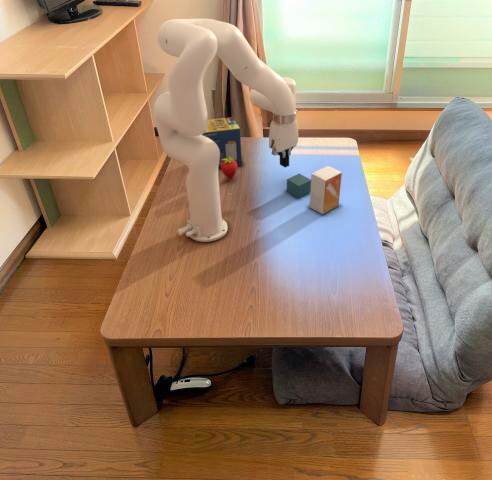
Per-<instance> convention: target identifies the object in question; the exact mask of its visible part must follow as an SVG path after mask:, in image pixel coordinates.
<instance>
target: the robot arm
mask: <svg viewBox="0 0 492 480" xmlns="http://www.w3.org/2000/svg"><path fill="white" fill-rule="evenodd" d="M157 42H158V45H159V47H160V48H161V50H162V51H163V52H164V53H166V54H168V55H169V56H171V57H175V58H177V60H176V61H175V63H174V64H173V66H172V68H171V69H170V71H169V74H168V80H167V81H168V82H167V84H168V85H167V86H168V91H165V92H162V93H161V94H159V95H158V97H157V98H156V100H155V103H154V106H153V117H154V123H155V127H156V130H157V133H158V138H159V141H160V145H161V147H162V151H163V152H164V154H165V155H166V156H167V157H168V158H170V159H172V160H174V161H176V162H178V163H180V164H182V165H183V166H185V167H187V168H188V173H187V174H186V177H185V190H186V196H187V204H188V213H189V218H190V219H188V220H187V224H185V226H184V227H180V228H178V229H177V230H176V232H177V234H178V236H182V235H184V234H185V236H186V237H187V238H190V239H192V240H193V241H196V242H202V243H209V242H213V241H214V242H215V241H217V240H220V239H222V238H223V237H225V236H226V234H227V232H228V230H229V229H228V223H227V221H226V220H225V219H223V217H222V204H221V194H220V181H219V169H218V167H219V159H220V150H219V148H218V146H217V144H216V143H215V142H214V141H212V140H211V139H209V138H207V137H205V136H203V135H202V134H203V133H204V132H205V131H206V130H207V127H208V120H209V114H208V109H207V103H206V99H205V93H204V86H203V83H204V77H205V74H206V71H207V69H208V67H209V66H210V65H211V63H212V61H213V60H214V58H215V57H216V56H217V57H218V58H219V59H220V60H221V62H222V63H223V64H224V65H225V66H226V68H227V69H228V70H229V72H230V73H231V75H233V77H234V78H235V79H236V80H237V81H238V82H240V83H241V84H243V85H244V86H246V87H248V88H250V92H249V95H248V96H249V98H248V99H249V101H250V103H251V105H253V106H254V107H256V108H257V109H258V108H259V109H261V110H264V111H268V112H271V113H272V120H271V121H270V123H269V124H270V125H269V132H268V147H269V149H271V155H273V156H279V165H280V166H282V167H283V168H287V167H290V156H291V154H292V151H293V150H294V148H296V147H297V146H298V143H299V124H298V120H297V117H296V115H297V114H296V113H298V110H297V109H296V108H297V83H296V81H295V79H293V78H292V77H288V76H281V75H279V74H278V73H277V72H275V71H274V70H273V69H272V68H271V67H270V66H268V65H267V64H266V63H265V62H264V61H262V60H261V59H260V58H259V57H258V54H256V52H255V51H254V50H253V48H252V46H251V45H250V44H249V42H248V41H247V39H246V37H245V36H244V34H243V33H242V32H241V30H240V29H239V28H238V27H237V26H236V25H234V24H232V23H229V22H225V21H221V20H217V19H213V18H172V19H168V20H166V21H164V22H163V23H162V24H161V25H160V26H159V28H158V31H157Z"/></svg>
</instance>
